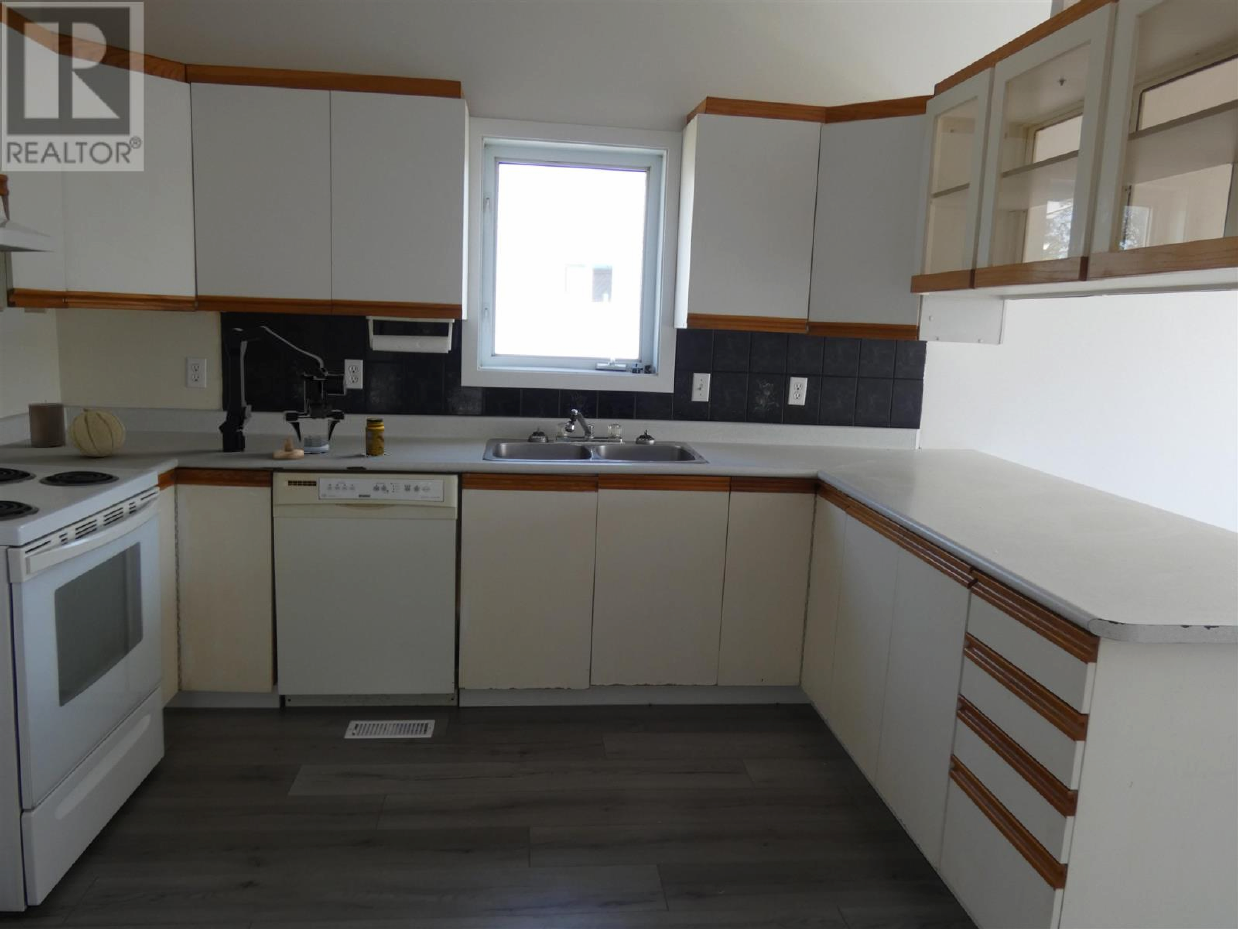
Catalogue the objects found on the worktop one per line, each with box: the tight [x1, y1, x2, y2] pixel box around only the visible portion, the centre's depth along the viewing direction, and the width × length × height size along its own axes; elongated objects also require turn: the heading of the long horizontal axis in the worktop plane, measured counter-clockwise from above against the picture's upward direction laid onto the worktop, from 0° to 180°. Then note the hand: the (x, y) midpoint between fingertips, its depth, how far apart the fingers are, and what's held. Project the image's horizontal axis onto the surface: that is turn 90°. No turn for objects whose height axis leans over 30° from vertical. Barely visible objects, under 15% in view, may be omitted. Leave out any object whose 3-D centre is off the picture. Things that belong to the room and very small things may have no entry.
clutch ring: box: [301, 434, 327, 447], centre depth 293 cm, size 7×7×3 cm
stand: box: [273, 437, 305, 461], centre depth 279 cm, size 9×9×6 cm
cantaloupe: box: [68, 407, 126, 458], centre depth 269 cm, size 15×15×15 cm
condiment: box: [355, 417, 390, 458], centre depth 290 cm, size 7×8×12 cm
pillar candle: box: [27, 399, 67, 448], centre depth 286 cm, size 10×10×15 cm
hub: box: [299, 436, 330, 454], centre depth 293 cm, size 9×9×5 cm
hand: (314, 441), depth 293 cm, fingers open, 9 cm apart
